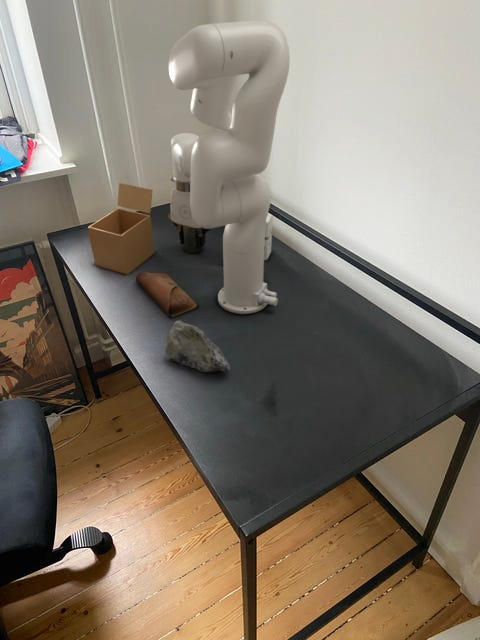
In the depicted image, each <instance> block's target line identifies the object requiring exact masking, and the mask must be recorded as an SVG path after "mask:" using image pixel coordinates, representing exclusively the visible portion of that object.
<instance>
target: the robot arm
mask: <svg viewBox="0 0 480 640" xmlns="http://www.w3.org/2000/svg"><path fill="white" fill-rule="evenodd" d="M289 48H290V47H289V44H288V39H287V36H286V34H285V32H284V31H283V29H282V28H281V27H280V26H279V25H278V24H275V22H271V21H268V20H261V19H260V20H259V19H251V20H250V19H248V20H238V21H229V22H219V23H218V22H217V23H207V24H201V25H197V26H195V27H193V28H192V29H190V30H189V31H188V32H186V33H185V34H184V35H183V36H182V37H180V38H179V39H178V40H177V41H176V42H175V43H174V44H173V47H172V48H171V50H170V53H169V56H168V65H167V66H168V74H169V78H170V80H171V82H172V85H173V86H174V87H175V88H176V89H178V90H180V91H188V90H192V94H191V100H190V103H189V104H190V105H189V106H190V108H189V109H190V112H191V115H192V116H193V117H194V118H195V120H197V121H198V122H199V123H201V124H203V125H206V126H208V127H211V128H215V129H218V130H217V131H213V132H212V131H211V132H208V133H205V134H203V135H200V136H199V135H197V134H195V133H192V132H183V133H177V134H175V135H173V136H172V138H171V140H170V147H171V148H170V149H171V159H172V170H173V175H171V176H170V181H171V182H173V186H172V187H171V193H170V212H169V214H168V215H167V218H168V219H169V220H170V221H171V222H172V224H173V225H174V226H175V227H176V230H177V232H178V236H179V243H180V245H181V246H184V235H183V225H185V226H189V227H194V228H196V229H197V232H198V236H197V248H198V249H201V250H202V249H203V247H204V246H205V245H206V233H208V232H209V231H211V230H213V229H215V228H221V227H224V226H225V227H224V230H223V234H222V260H223V261H222V264H223V269H222V270H223V287H222V288H221V289H220V290H219V291H218V294H217V301H218V304H219V306H220V307H221V308H222V309H224V310H225V311H227V312H230V313H233V314H239V315H248V314H254V313H258V312H260V311H261V310H263V309H265V308H266V306H268V305H270V306H273V307H276V306H277V305H278V302H279V299H278V292H275V291H270V290H269V289H268V283H266V282H265V281H264V273H265V272H264V271H265V260H264V244H265V226H266V219H267V215H268V214H269V210H270V206H271V198H272V195H271V194H272V192H271V187H270V185H269V183H268V181H267V180H266V178H264V177H263V176H262V175H260V174H261V173H263V172H264V171H265V170H266V169H267V168H268V165H269V162H270V160H271V159H270V158H271V153H272V147H273V142H274V134H275V129H276V123H277V115H278V109H279V107H280V102H281V100H282V97H283V94H284V92H285V88H286V84H287V81H288V77H289V74H290V73H289V72H290V63H291V62H290V58H291V57H290V49H289ZM241 75H248V78H247V80H245V82H244V84H243V85H242V86H241V87H240V89H239V90H238V92H237V94H236V96H235V98H234V93H235V89H236V85H237V81H238V76H241ZM233 98H234V101H233ZM232 101H233V103H232ZM231 106H232V107H231ZM230 110H231V113H230Z"/></svg>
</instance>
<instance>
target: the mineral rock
mask: <svg viewBox="0 0 480 640" xmlns="http://www.w3.org/2000/svg"><path fill="white" fill-rule="evenodd" d="M165 357H166V360H167V361H168V362H176V363H178V364H180V365H181V366H188V367H190V368H192V369H196V370H198V371H199V372H201V373H207V372H229V371H230V370H231V369H232V368H231V366H230V364H229V362H228V360H227V358H225V355H224V353H223V351H221V349H220V348H219V347H218V345H216V344H215V343H214V342H213V341H211V340H210V339H209V338H208V337H207V336H206V335H205V332H204V331H203V330H202V329H200V328H199V327H198V326H195V325H193V324H190V323H187V322H186V323H185V322H184V321H182V320H176V321H174V323H173V325H172V327H171V329H170V331H169V333H168V336H167V340H166V346H165Z"/></svg>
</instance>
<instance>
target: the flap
mask: <svg viewBox="0 0 480 640" xmlns="http://www.w3.org/2000/svg"><path fill="white" fill-rule="evenodd" d="M153 191H154V190H153V189H150V188H147V187H142V186H137V185H132V184H128V183H123V182H119V183H118V193H117V207H121V208H124V209H128V210H129V209H130V210H132V211H138V212H142V213H145V214H151V212H152V201H153Z"/></svg>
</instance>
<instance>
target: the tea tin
mask: <svg viewBox="0 0 480 640" xmlns="http://www.w3.org/2000/svg"><path fill="white" fill-rule="evenodd" d="M183 235H184V244H183V248H184V251H185V252H186V253H188V254H197V253H199V252H201V250H202V248H201V249H198V248H197V236H198V232H197V229H196V228H194V227H189V226H185V225H183Z"/></svg>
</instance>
